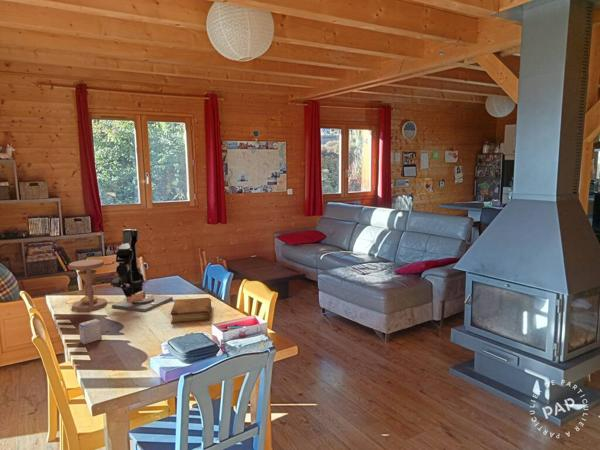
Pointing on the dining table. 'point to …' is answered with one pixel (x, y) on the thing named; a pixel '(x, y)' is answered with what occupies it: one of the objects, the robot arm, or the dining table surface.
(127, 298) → the dial
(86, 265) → the wooden pedestal stand
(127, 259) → the robot arm
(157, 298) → the panel
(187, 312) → the diary
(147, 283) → the dining table surface
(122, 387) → the dining table surface
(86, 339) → the medicine box
